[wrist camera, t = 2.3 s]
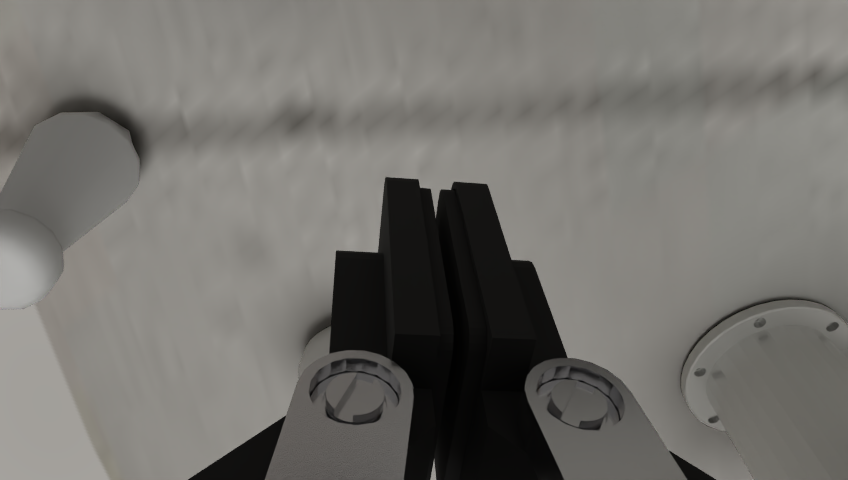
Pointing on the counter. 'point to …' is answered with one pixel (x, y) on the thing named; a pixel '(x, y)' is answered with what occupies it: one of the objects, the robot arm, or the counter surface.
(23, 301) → the salt shaker
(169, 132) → the counter surface
